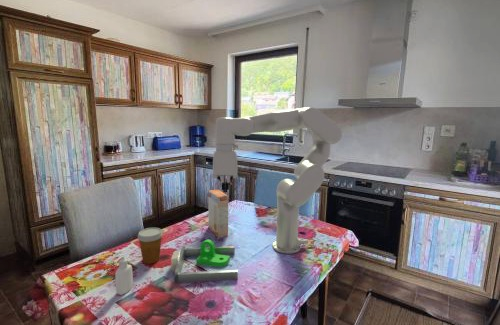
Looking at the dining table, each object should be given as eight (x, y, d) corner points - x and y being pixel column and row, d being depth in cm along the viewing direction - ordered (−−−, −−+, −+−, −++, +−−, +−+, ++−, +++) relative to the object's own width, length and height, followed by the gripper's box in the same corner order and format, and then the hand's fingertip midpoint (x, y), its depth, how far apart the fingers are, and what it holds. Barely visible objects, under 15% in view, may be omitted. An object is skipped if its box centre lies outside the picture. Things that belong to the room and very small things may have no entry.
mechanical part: (196, 264, 104) (196, 245, 103) (202, 256, 110) (202, 238, 109) (225, 268, 102) (225, 248, 101) (229, 260, 108) (229, 242, 106)
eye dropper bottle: (113, 290, 87) (111, 256, 85) (131, 283, 91) (129, 251, 89) (118, 296, 84) (115, 262, 82) (136, 289, 88) (134, 256, 86)
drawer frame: (234, 252, 114) (234, 241, 113) (237, 279, 94) (237, 266, 94) (176, 255, 111) (176, 243, 110) (167, 283, 91) (167, 269, 91)
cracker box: (228, 236, 130) (229, 195, 127) (217, 238, 127) (217, 196, 124) (218, 226, 142) (218, 188, 139) (208, 228, 139) (207, 189, 136)
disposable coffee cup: (157, 251, 113) (156, 225, 112) (167, 260, 107) (166, 232, 105) (134, 259, 107) (133, 231, 105) (144, 268, 100) (143, 239, 98)
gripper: (242, 147, 112) (242, 189, 115) (207, 147, 110) (207, 189, 113) (244, 149, 105) (243, 193, 107) (206, 148, 103) (206, 194, 106)
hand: (225, 191), depth 110 cm, fingers closed
